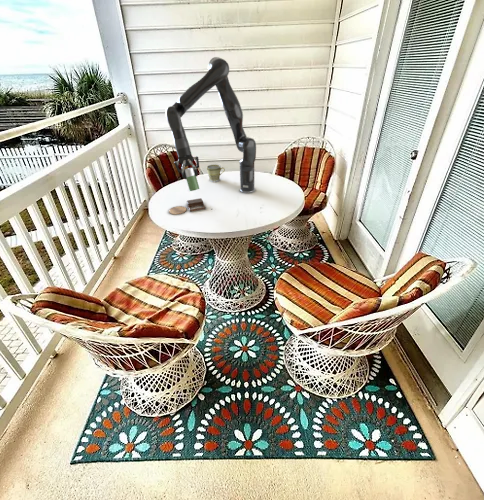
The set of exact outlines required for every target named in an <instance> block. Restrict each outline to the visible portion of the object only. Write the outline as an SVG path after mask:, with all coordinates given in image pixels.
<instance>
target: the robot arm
mask: <svg viewBox="0 0 484 500" xmlns="http://www.w3.org/2000/svg"><path fill="white" fill-rule="evenodd" d="M207 69H208V71H207V72H206V73H205V74H204V75H203V76H202V77H201V78H200V79H199V80H197V81H196V82H195V83H193V84H192V85H191V86H189V87H188V88H187V89H186V90H184V92H183V93H182V94H181V95H180V96H179V97H178V98H177V101H175V102H174V104H172V105H171V106H168V107H167V108H166V109H165V117H166V120H167V123H168V125H169V128H170V132H171V135H172V140H173V145H174V148H175V151H176V154H177V158H178V160H176V161H174V162H173V164H174V166H175V168H176V170H177V173H178V174H179V173H180V174H181V175H182V179H184V180H186V177H185V173H184V170H185V168H186V167H189V166H191V168H194V171H195V174H196V178H197V177H198V175H199V172H198V169H199V168H200V159H199V157H198V156H197V155H196V156H193V154H192V150H191V146H190V143H189V140H188V137H187V135H186V130H185V127H184V126H183V121H182V119H181V118H182V117H183V116H184V115H185V114H186V113H187V111H188V110H190V109H191V108H192V107H193V106H194V105H195V104H196V103H197V102H198V101H199V100H200V99H201V98H202V97H203V96H204V95H205V94H206V93H208V92H209V91H210V90H212V88H213V87H216V90H217V93H218V96H219V99H220V103H221V105H222V108H223V111H224V114H225V116H226V117H225V118H226V119H227V121H228V124H229V127H230V129H231V132H232V134H233V135H232V136H233V139H234V142H235V145H236V148H237V150H238V151H239V152H240V153H242V158H241V159H239V187H240V190H239V191H240V193H243V194H249V193H251V194H252V193H254V192H255V161H256V159H257V143H256V140H255V139H254V138H252V137H249V136H247V134H246V132H245V129H244V125H243V123H244V113H243V109H242V106H241V103H240V101H239V98H238V96H237V94H236V93H235V91H234V89H233V87H232V86H231V82H230V80H229V77H228V76H229V73H230V64H229V63H228V61H227V60H226V59H224V58H221V57H220V56H214V57H212V58H210V60H209V62H208V65H207ZM193 161H195V163H196V165H195V164H194V163H193ZM179 164H180V165H181V169H180V167H179Z"/></svg>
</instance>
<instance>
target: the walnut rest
mask: <svg viewBox="0 0 484 500" xmlns="http://www.w3.org/2000/svg"><path fill="white" fill-rule="evenodd" d="M186 205H187V209H188V210H189V212H190V213H191V212H197V211H203V210H206V206H205V205H204V200H203V199H202V198H195V199H188V200H186Z"/></svg>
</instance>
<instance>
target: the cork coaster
mask: <svg viewBox="0 0 484 500" xmlns="http://www.w3.org/2000/svg"><path fill="white" fill-rule="evenodd" d="M185 212H187V208H186V206H182V205H181V206H180V205H179V206H173V207H171V208H170V209H169V210H168V213H169V214H171V215H181V214H184V213H185Z"/></svg>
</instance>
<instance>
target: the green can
mask: <svg viewBox="0 0 484 500" xmlns="http://www.w3.org/2000/svg"><path fill="white" fill-rule="evenodd" d="M184 173H185V177H186V179H185V180H186V183H187V186H188V190H189V192H194V191H197V190H199V189H200V186H199V182H198V179H197V177H196V174H195V171H194V168H193V167H189V168H186V169H185V168H184Z"/></svg>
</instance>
